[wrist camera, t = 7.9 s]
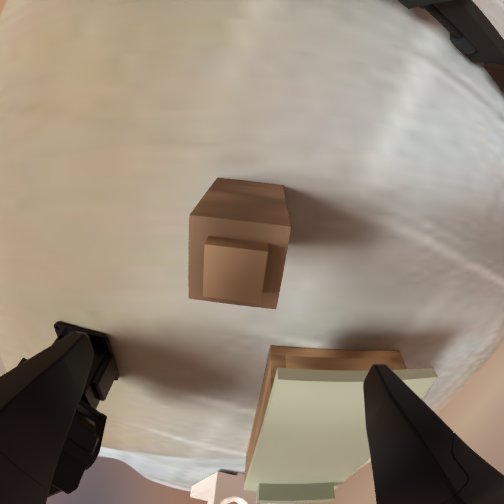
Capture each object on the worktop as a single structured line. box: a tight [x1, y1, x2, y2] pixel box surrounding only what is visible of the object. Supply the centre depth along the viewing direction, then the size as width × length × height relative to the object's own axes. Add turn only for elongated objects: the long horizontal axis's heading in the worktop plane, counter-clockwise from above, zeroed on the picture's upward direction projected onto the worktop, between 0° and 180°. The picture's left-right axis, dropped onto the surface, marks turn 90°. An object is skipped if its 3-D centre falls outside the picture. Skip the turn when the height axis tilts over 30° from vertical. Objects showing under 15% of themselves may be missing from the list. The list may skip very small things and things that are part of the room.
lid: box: [244, 367, 438, 504], centre depth 22 cm, size 12×25×3 cm, turn 174°
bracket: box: [190, 471, 257, 504], centre depth 37 cm, size 13×7×8 cm, turn 152°
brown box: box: [244, 346, 407, 483], centre depth 26 cm, size 13×22×5 cm, turn 174°
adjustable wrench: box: [398, 0, 504, 93], centre depth 10 cm, size 8×3×25 cm
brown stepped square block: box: [189, 178, 291, 309], centre depth 15 cm, size 4×4×8 cm
